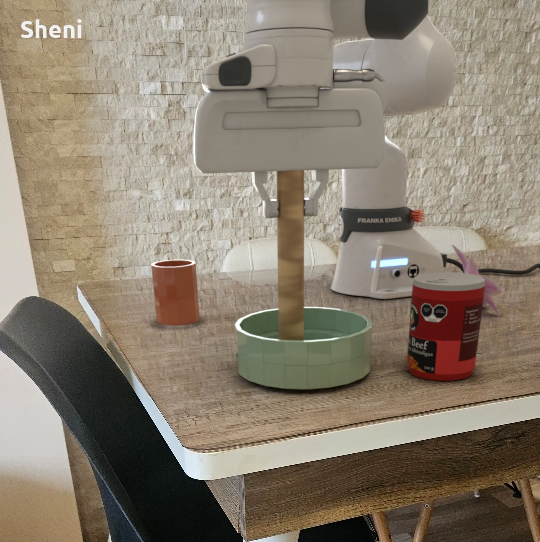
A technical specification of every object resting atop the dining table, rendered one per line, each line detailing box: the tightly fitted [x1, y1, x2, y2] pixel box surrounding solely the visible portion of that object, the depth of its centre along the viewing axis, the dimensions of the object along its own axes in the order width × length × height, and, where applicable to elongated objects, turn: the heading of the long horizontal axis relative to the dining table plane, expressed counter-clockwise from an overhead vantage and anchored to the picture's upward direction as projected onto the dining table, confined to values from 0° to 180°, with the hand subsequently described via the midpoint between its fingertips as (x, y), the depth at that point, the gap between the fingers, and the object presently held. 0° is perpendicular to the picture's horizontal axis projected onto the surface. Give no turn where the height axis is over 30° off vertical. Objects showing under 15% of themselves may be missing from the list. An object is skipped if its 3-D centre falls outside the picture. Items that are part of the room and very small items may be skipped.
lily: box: [451, 244, 503, 317], centre depth 104 cm, size 12×12×10 cm
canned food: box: [406, 271, 485, 382], centre depth 78 cm, size 8×8×11 cm
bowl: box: [234, 306, 373, 391], centre depth 80 cm, size 16×16×6 cm
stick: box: [275, 170, 305, 341], centre depth 75 cm, size 3×3×20 cm
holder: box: [150, 259, 201, 326], centre depth 102 cm, size 7×7×9 cm
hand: (290, 216), depth 73 cm, fingers closed on stick, 3 cm apart
